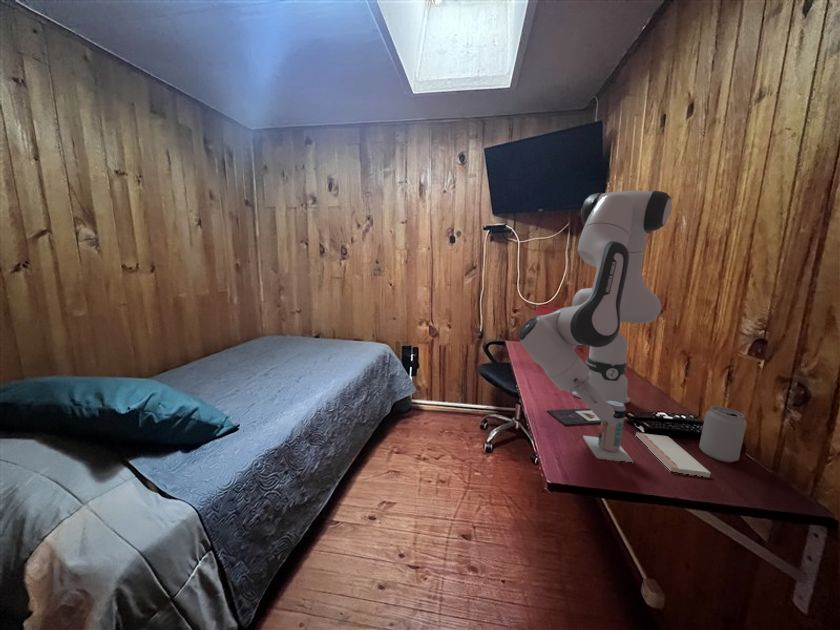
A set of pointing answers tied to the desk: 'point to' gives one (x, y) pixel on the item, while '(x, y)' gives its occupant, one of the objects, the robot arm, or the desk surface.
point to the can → (722, 434)
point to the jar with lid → (612, 428)
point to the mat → (604, 454)
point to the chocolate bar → (575, 417)
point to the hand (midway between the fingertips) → (605, 414)
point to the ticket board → (672, 455)
